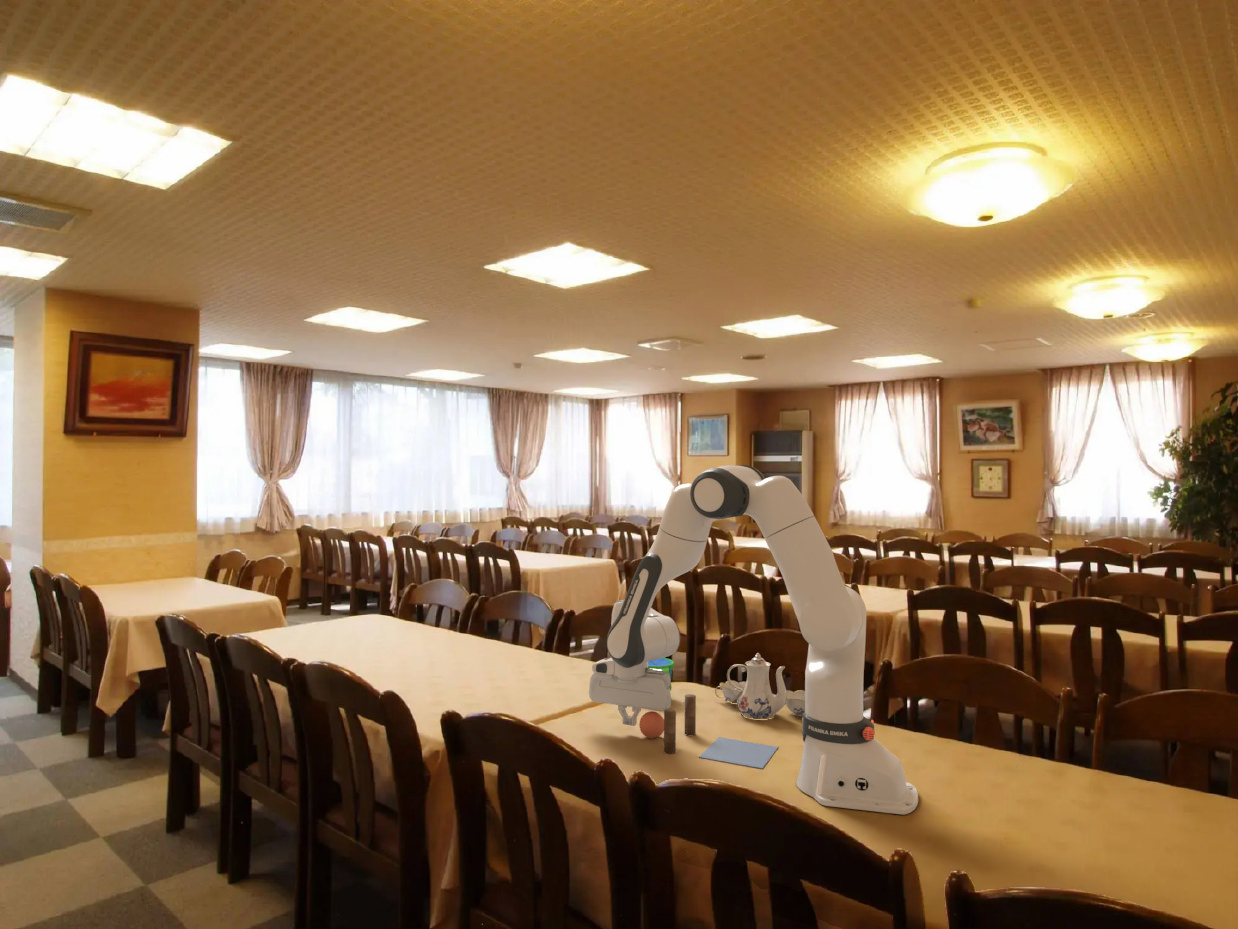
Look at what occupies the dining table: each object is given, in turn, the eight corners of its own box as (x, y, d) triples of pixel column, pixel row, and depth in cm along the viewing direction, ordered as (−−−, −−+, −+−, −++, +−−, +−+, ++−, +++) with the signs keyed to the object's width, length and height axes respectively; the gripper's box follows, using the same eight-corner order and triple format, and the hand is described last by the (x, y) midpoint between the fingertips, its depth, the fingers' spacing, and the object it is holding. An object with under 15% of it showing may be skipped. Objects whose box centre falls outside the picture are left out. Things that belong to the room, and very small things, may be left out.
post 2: (697, 733, 175) (697, 695, 175) (693, 736, 173) (693, 698, 173) (686, 731, 176) (687, 693, 177) (683, 734, 174) (683, 696, 174)
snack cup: (682, 704, 198) (683, 666, 198) (646, 707, 195) (646, 669, 195) (662, 689, 213) (662, 653, 213) (628, 691, 210) (628, 655, 210)
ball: (641, 713, 176) (652, 737, 175) (631, 720, 171) (642, 745, 170) (661, 704, 174) (673, 728, 173) (652, 711, 169) (663, 736, 167)
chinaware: (821, 718, 193) (823, 653, 195) (809, 730, 178) (811, 660, 180) (719, 704, 205) (721, 643, 207) (699, 714, 190) (702, 648, 192)
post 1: (677, 750, 163) (677, 710, 164) (673, 754, 161) (673, 713, 161) (666, 749, 164) (666, 708, 165) (662, 752, 162) (662, 711, 162)
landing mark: (778, 747, 166) (778, 746, 166) (762, 769, 153) (762, 768, 153) (718, 738, 172) (718, 737, 172) (698, 757, 159) (698, 757, 159)
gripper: (675, 667, 173) (675, 726, 173) (598, 658, 182) (598, 715, 181) (665, 673, 167) (665, 735, 167) (586, 664, 176) (586, 722, 176)
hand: (629, 724), depth 174 cm, fingers closed
